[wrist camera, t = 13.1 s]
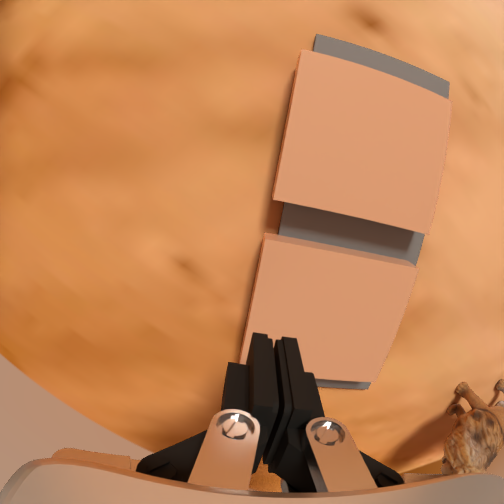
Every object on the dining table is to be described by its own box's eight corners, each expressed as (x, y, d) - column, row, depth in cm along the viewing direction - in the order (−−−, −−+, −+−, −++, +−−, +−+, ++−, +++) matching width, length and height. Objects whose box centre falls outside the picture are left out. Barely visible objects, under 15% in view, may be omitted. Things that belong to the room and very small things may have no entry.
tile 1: (265, 239, 16) (419, 268, 16) (264, 231, 18) (406, 259, 18) (238, 368, 18) (375, 382, 18) (239, 352, 20) (367, 367, 20)
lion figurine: (408, 428, 23) (443, 500, 14) (430, 384, 21) (478, 459, 12) (508, 404, 23) (546, 451, 14) (529, 365, 21) (574, 411, 13)
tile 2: (301, 48, 13) (452, 101, 14) (297, 59, 15) (437, 105, 15) (273, 199, 15) (428, 234, 16) (271, 196, 17) (415, 228, 17)
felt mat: (315, 36, 15) (316, 33, 14) (446, 83, 15) (449, 82, 15) (247, 374, 21) (246, 378, 20) (366, 386, 21) (367, 389, 21)
